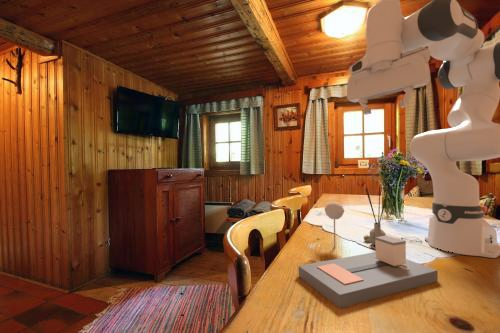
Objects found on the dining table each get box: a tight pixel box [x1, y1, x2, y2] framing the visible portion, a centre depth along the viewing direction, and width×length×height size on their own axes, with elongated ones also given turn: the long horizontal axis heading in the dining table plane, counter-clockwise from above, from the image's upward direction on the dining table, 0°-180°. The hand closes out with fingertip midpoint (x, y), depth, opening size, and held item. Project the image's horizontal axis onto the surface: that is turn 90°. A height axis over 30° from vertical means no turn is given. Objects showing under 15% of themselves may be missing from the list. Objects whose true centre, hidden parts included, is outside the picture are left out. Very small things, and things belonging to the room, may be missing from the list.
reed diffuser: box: [363, 186, 389, 246], centre depth 79 cm, size 10×7×20 cm
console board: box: [297, 251, 439, 309], centre depth 55 cm, size 28×14×3 cm, turn 111°
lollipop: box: [324, 201, 345, 248], centre depth 78 cm, size 6×6×15 cm
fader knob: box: [374, 235, 407, 266], centre depth 58 cm, size 4×5×5 cm
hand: (384, 110), depth 64 cm, fingers open, 8 cm apart
